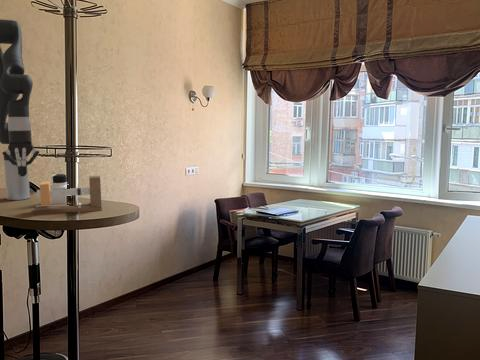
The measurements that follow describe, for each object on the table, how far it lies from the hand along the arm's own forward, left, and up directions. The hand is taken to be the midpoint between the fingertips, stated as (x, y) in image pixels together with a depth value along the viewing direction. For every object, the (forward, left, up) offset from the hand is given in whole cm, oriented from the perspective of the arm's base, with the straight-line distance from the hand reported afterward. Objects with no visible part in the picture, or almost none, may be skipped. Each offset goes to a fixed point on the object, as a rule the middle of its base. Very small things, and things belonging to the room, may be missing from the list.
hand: (22, 176), depth 170 cm
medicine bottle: (-17, +11, -14) cm, 25 cm away
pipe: (0, +14, -8) cm, 16 cm away
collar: (0, +7, -11) cm, 13 cm away
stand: (0, +15, -14) cm, 21 cm away
